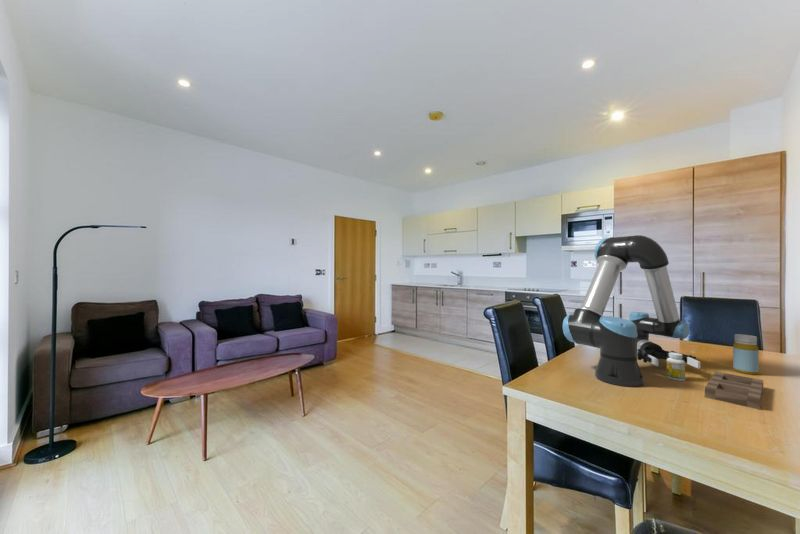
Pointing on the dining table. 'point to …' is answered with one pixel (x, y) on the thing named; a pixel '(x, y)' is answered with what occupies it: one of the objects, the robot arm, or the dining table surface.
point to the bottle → (745, 354)
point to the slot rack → (735, 389)
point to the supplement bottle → (675, 367)
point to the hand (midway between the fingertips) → (678, 363)
